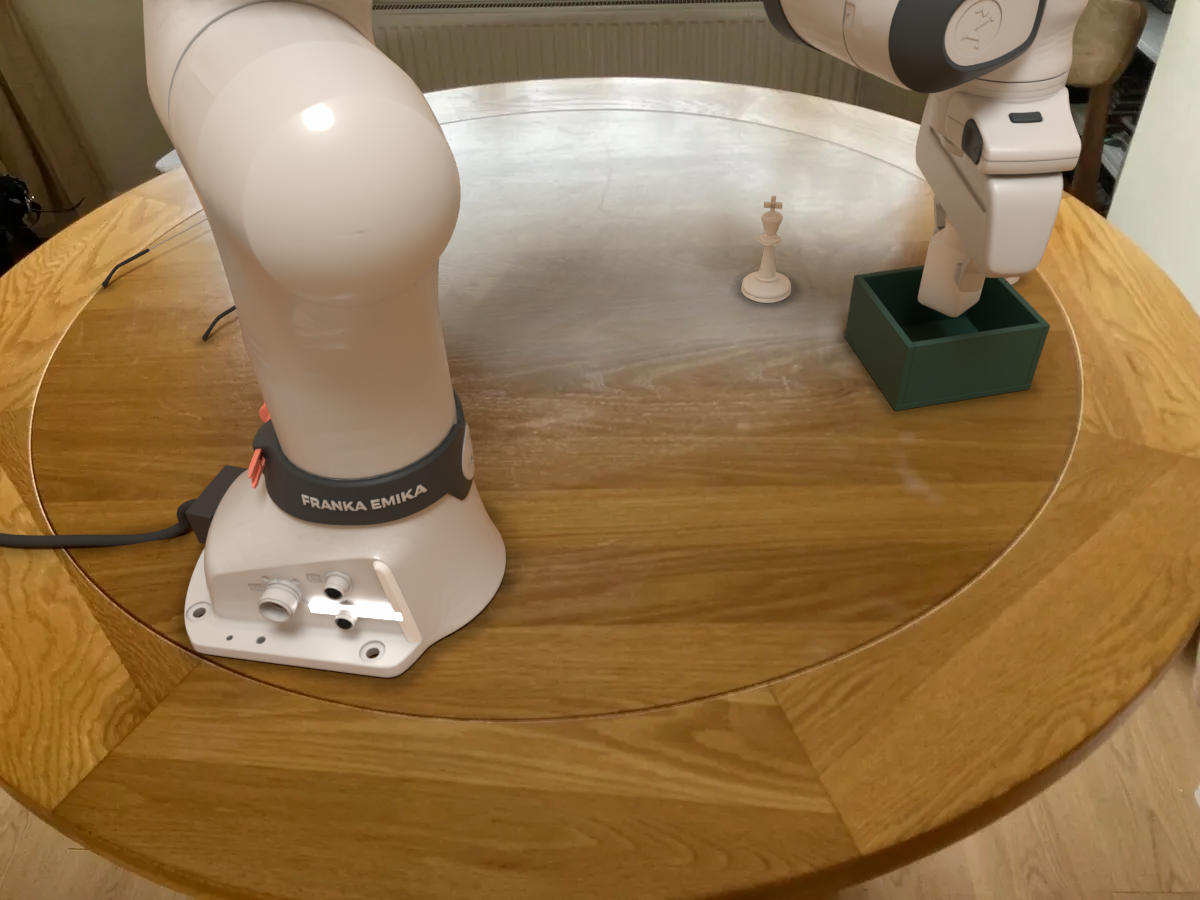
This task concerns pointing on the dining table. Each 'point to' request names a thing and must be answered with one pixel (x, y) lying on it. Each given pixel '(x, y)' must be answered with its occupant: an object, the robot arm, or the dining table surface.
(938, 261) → the pepper shaker
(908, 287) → the bin
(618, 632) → the dining table surface
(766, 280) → the chess piece
